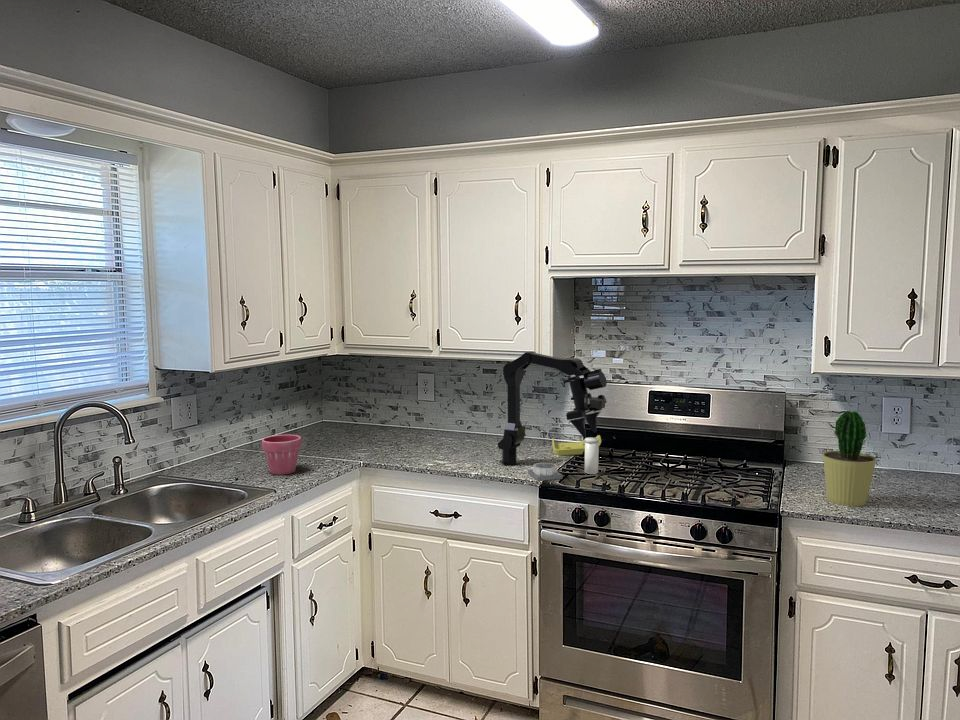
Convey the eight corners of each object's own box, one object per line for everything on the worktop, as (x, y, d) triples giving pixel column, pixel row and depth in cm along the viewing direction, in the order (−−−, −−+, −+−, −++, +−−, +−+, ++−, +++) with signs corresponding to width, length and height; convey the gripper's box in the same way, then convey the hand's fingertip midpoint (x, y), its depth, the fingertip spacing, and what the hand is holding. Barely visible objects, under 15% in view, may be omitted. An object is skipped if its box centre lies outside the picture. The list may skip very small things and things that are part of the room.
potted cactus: (871, 497, 237) (876, 407, 234) (876, 510, 223) (881, 415, 220) (819, 491, 243) (824, 404, 240) (821, 504, 229) (825, 411, 226)
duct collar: (527, 474, 266) (527, 463, 265) (552, 472, 268) (552, 461, 268) (537, 480, 256) (537, 470, 256) (562, 478, 259) (562, 467, 259)
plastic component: (553, 450, 293) (551, 435, 302) (554, 464, 297) (552, 449, 306) (602, 447, 292) (599, 432, 301) (602, 461, 296) (599, 446, 304)
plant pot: (258, 469, 272) (257, 436, 270) (295, 465, 279) (294, 432, 277) (268, 478, 259) (267, 443, 258) (306, 473, 267) (305, 439, 265)
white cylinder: (581, 472, 268) (582, 437, 267) (594, 471, 270) (595, 436, 269) (587, 475, 263) (588, 440, 262) (600, 474, 265) (601, 439, 264)
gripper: (588, 391, 250) (599, 435, 250) (609, 385, 266) (619, 426, 265) (560, 397, 256) (571, 440, 256) (582, 391, 272) (592, 431, 271)
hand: (589, 434), depth 262 cm, fingers open, 9 cm apart
